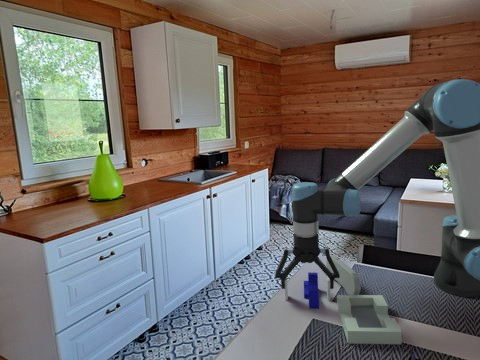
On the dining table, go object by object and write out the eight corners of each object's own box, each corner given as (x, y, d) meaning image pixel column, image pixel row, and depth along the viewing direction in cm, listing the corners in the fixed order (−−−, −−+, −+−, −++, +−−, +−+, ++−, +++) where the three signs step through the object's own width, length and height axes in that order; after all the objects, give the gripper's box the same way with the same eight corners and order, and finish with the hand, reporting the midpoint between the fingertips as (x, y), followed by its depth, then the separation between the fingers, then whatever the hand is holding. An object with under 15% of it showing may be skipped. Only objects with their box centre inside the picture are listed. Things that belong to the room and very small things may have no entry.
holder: (382, 305, 105) (382, 295, 105) (401, 344, 88) (401, 331, 88) (337, 305, 107) (337, 295, 106) (347, 343, 90) (347, 331, 89)
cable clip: (304, 289, 118) (303, 272, 117) (317, 289, 117) (317, 272, 116) (304, 308, 107) (303, 290, 106) (319, 309, 106) (318, 291, 105)
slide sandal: (361, 300, 109) (361, 275, 108) (354, 301, 109) (355, 276, 107) (332, 273, 128) (331, 251, 126) (326, 274, 128) (326, 252, 126)
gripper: (345, 228, 110) (345, 291, 114) (266, 229, 113) (269, 291, 117) (349, 237, 103) (349, 304, 107) (265, 238, 106) (268, 303, 110)
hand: (307, 297), depth 112 cm, fingers open, 12 cm apart
